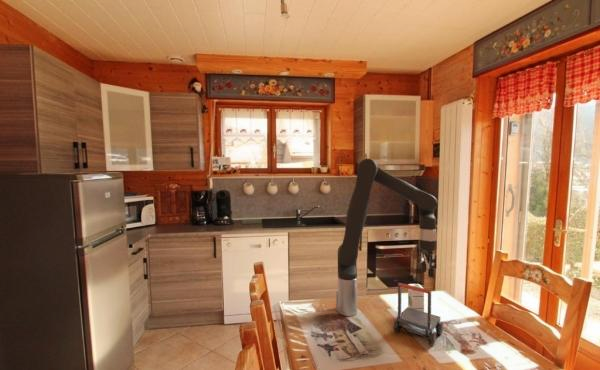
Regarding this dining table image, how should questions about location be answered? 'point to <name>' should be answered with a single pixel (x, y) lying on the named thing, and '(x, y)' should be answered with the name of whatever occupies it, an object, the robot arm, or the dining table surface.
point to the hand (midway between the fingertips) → (427, 274)
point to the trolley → (418, 317)
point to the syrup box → (416, 298)
